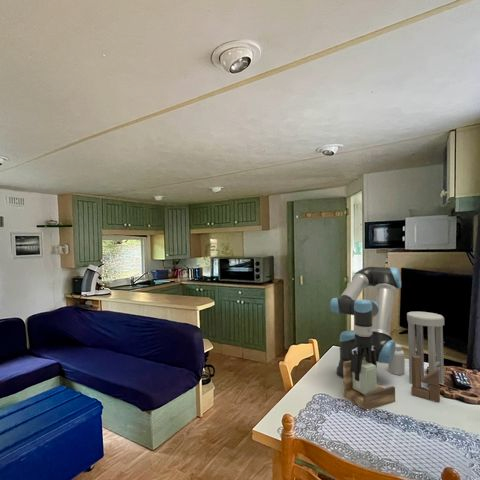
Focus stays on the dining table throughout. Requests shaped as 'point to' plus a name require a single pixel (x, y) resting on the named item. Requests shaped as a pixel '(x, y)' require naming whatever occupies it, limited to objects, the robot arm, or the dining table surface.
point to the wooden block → (429, 379)
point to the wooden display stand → (369, 399)
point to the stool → (433, 356)
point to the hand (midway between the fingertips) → (364, 386)
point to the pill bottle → (397, 361)
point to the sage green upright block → (366, 378)
